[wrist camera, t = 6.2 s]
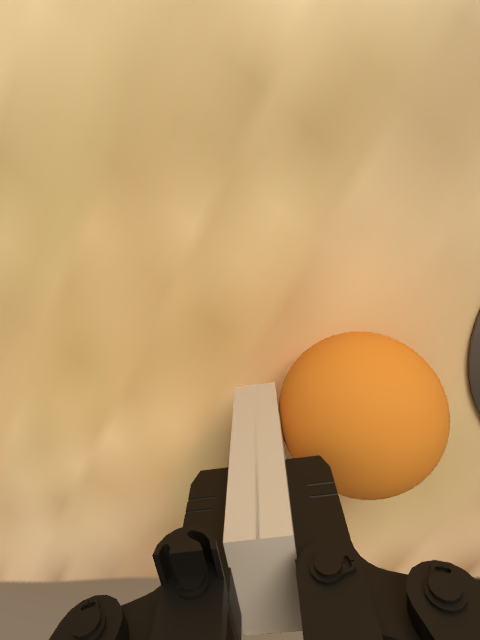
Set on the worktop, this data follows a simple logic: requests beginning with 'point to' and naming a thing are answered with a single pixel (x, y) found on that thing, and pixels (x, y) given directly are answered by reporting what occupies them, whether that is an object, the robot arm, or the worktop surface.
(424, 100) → the worktop surface
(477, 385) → the disc
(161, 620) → the robot arm
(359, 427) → the ball
